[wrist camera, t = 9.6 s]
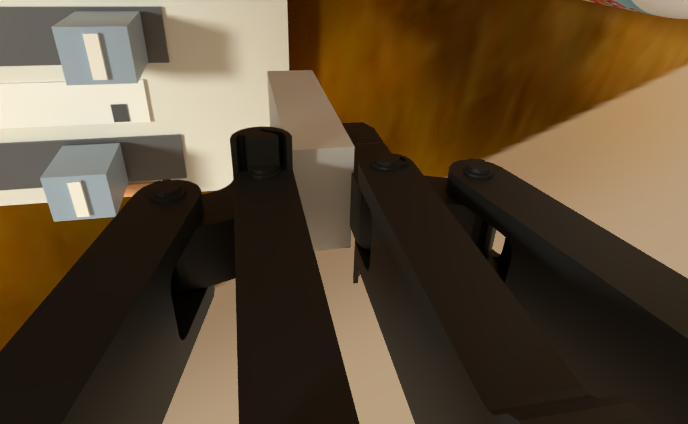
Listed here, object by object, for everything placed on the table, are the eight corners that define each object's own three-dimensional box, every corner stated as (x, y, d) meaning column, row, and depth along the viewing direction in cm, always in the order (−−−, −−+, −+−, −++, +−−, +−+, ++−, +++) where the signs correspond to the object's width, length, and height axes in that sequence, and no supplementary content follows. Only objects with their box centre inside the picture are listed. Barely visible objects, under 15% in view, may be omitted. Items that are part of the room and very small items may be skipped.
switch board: (-154, 200, 29) (-181, 221, 27) (-283, -26, 22) (-330, -21, 21) (289, 171, 34) (292, 186, 32) (282, -21, 27) (287, -16, 26)
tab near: (87, 62, 25) (65, 86, 22) (75, 11, 24) (49, 27, 20) (148, 61, 26) (136, 84, 22) (139, 11, 25) (125, 27, 21)
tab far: (74, 185, 28) (52, 223, 25) (62, 145, 27) (38, 180, 24) (128, 181, 29) (115, 218, 26) (119, 142, 28) (104, 175, 24)
